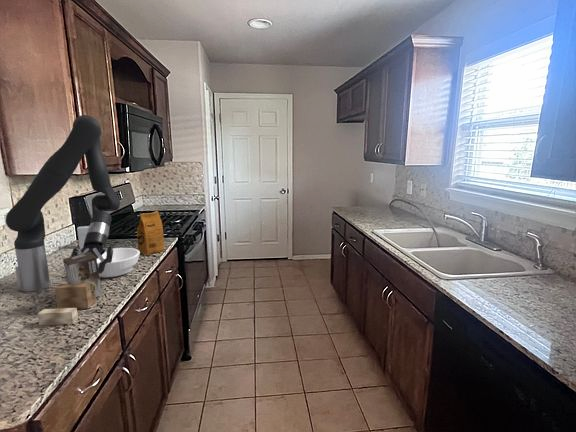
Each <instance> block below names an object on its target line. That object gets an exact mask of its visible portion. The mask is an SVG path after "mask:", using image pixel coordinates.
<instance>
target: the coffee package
mask: <svg viewBox="0 0 576 432" xmlns="http://www.w3.org/2000/svg"><path fill="white" fill-rule="evenodd" d="M139 217H140V218H139V223H138V226H137V229H136V237H137V250H139V251H140V254H142V255H144V256H148V255H152V254H157V253H158V254H159V253H160V252H163V251H165V239H164V227H163V221H162V218H161V216H160V214H159V211H158V210H155V211H153V212H151V213H149V212H147V213H139Z"/></svg>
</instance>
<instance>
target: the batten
mask: <svg viewBox="0 0 576 432" xmlns="http://www.w3.org/2000/svg"><path fill="white" fill-rule="evenodd" d="M37 318H38V323H39V326H52V325H53V326H54V325H55V326H56V325H57V324H58V325H74V324H75V323H76V322H77V321H78V320H79V315H78V309H77V308H59V309H58V308H44V309H42V310H41V311H39V312H38V313H37ZM76 320H77V321H76ZM75 321H76V322H75Z"/></svg>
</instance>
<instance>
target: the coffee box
mask: <svg viewBox="0 0 576 432" xmlns="http://www.w3.org/2000/svg"><path fill="white" fill-rule="evenodd" d="M62 260H63V266H64V271H65V277H66V281H67V284H85V283H90V287H91V294H95V298H99V297H100V296H102V295H104V294H103V289H102V283H101V277H100V276H99V270H98V264H97V258H96V257H95V256H94V255H93V254H92V253H91V252H87V253H83V254H82V253H80V255H76V256H72V257H71V256H70V257H66V258H62Z"/></svg>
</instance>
